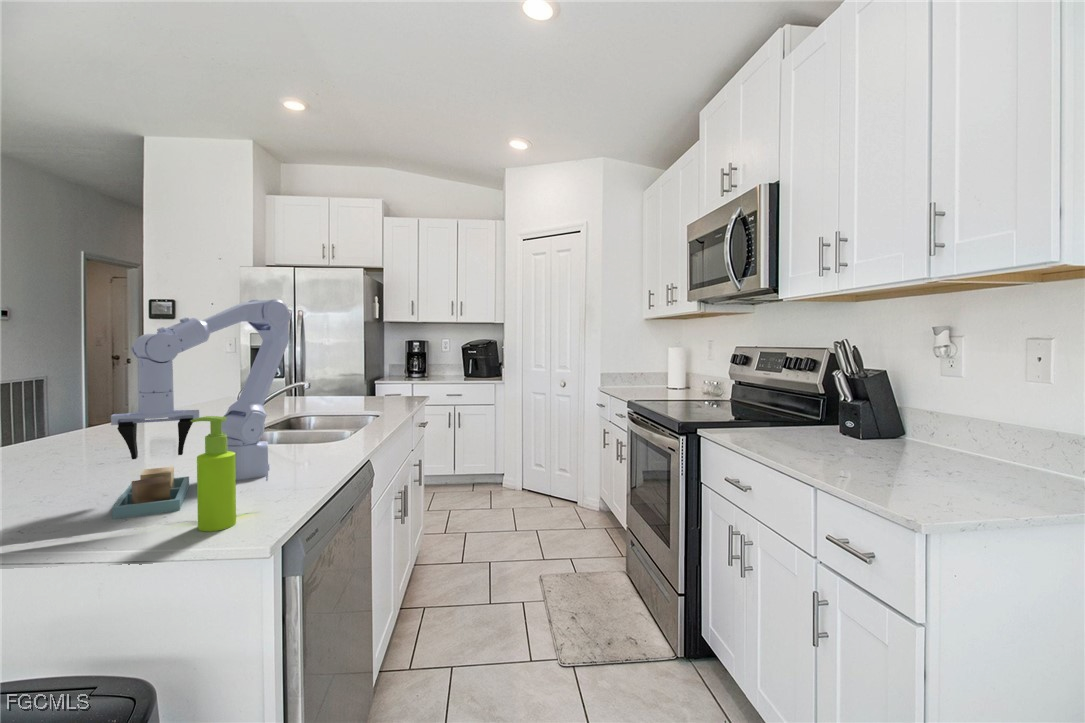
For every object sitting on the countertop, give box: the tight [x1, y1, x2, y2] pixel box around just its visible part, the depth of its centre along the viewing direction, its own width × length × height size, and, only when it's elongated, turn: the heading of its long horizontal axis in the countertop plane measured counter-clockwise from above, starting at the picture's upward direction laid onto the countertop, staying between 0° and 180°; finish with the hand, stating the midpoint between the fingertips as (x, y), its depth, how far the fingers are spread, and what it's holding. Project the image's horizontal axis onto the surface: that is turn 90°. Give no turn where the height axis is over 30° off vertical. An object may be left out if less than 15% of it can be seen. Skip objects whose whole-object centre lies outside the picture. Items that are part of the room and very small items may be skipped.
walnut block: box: [131, 476, 170, 504], centre depth 98 cm, size 5×5×5 cm
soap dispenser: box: [190, 415, 237, 532], centre depth 92 cm, size 6×7×20 cm
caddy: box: [111, 476, 190, 520], centre depth 102 cm, size 10×18×3 cm, turn 30°
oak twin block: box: [139, 466, 175, 488], centre depth 106 cm, size 5×5×5 cm
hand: (158, 456), depth 106 cm, fingers open, 7 cm apart
